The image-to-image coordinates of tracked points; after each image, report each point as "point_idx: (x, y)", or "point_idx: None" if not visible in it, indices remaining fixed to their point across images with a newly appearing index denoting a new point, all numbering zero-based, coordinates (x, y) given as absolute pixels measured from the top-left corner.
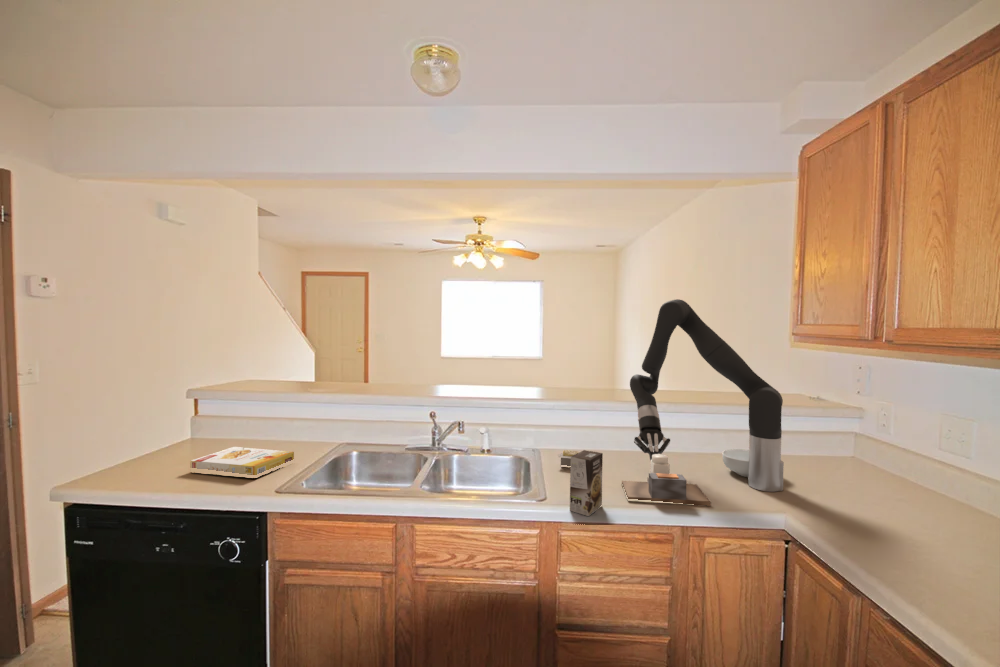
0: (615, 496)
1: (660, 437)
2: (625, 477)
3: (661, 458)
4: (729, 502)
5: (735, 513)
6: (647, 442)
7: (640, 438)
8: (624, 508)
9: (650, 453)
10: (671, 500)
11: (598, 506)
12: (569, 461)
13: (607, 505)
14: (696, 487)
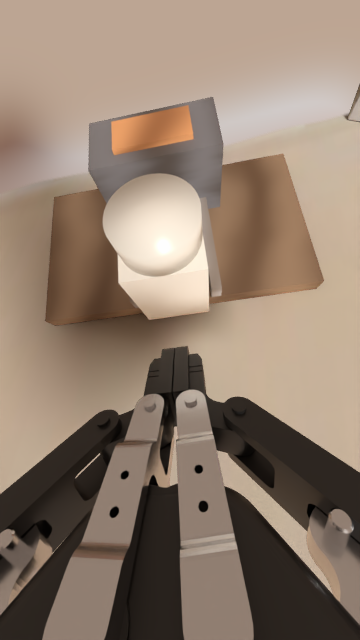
0: (321, 189)
1: (30, 600)
2: (312, 386)
3: (148, 174)
4: (3, 246)
5: (21, 187)
6: (228, 489)
7: (341, 580)
8: (284, 129)
9: (201, 389)
10: None
11: (356, 95)
12: None
13: (333, 130)
14: (55, 290)
